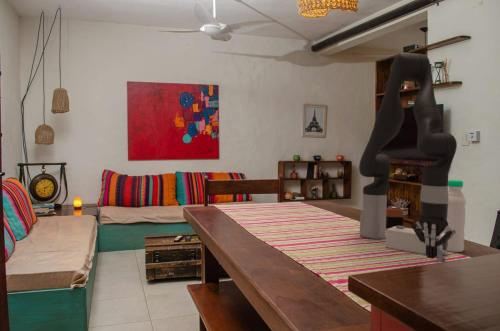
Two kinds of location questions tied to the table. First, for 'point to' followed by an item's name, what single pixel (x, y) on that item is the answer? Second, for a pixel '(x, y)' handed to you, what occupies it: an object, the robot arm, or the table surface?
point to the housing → (407, 240)
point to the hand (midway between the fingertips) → (431, 257)
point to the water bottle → (456, 215)
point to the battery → (394, 217)
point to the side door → (440, 254)
